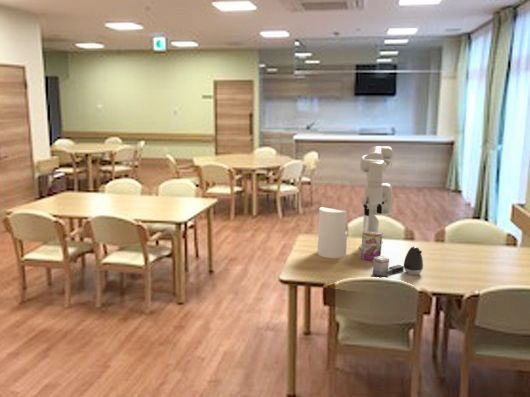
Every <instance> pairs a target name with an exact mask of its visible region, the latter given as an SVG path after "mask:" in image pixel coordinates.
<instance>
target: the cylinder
mask: <svg viewBox="0 0 530 397" xmlns="http://www.w3.org/2000/svg"><path fill="white" fill-rule="evenodd" d="M318 210H319V211H318V230H317V231H318V234H317V237H318V238H317V240H318V241H317V254H318V255H319V256H320V257H323V258H327V259H340V258H341V259H342V258H344V257H346V255H347V247H348V246H347V242H348V231H347V230H346V229H347V213H348V211H347V210H343V209H342V210H341V209H335V208H330V207H324V206H321V207H319V209H318Z"/></svg>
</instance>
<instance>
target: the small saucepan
mask: <svg viewBox="0 0 530 397" xmlns="http://www.w3.org/2000/svg"><path fill="white" fill-rule="evenodd" d="M404 271H405V269H404V265H401V264H396V265H392V266H388V271H386V272H382V273H380V272H378V271H375V270H373V269H372V276H373V277H374V278H377V277H387V278H388V276H389V275H392V274H397V273H400V272H401V273H402V272H404Z"/></svg>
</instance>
